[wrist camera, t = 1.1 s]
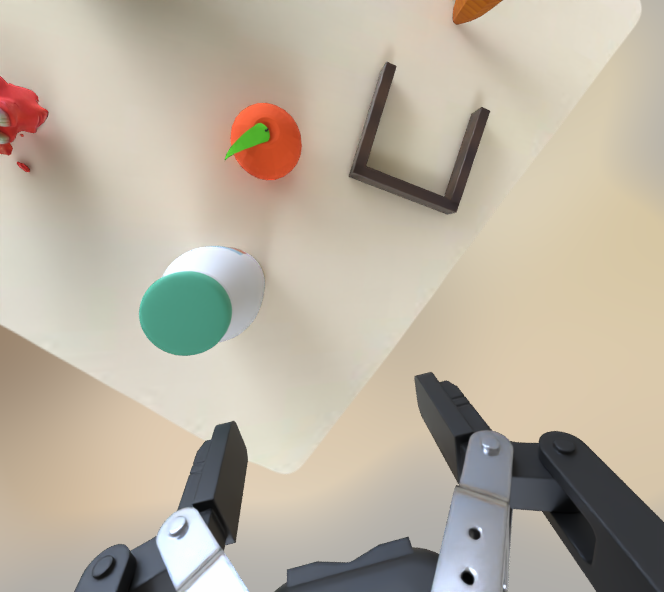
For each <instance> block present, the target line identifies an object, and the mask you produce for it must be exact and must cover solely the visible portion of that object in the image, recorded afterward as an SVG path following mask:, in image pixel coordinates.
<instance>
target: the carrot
mask: <svg viewBox="0 0 664 592" xmlns="http://www.w3.org/2000/svg"><path fill="white" fill-rule="evenodd" d="M501 1H502V0H456V1H455V5H454V9H453V22H454V23H455V24H456V25H458V24H462V23H466V22H469V21H472V20H474V19H476V18H478V17H481V16H482V15H484V14H485V13H486V12H488V11H489V10H491V9H492V8H493V7H495V6H496V5H497V4H498V3H500V2H501Z"/></svg>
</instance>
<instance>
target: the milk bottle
mask: <svg viewBox="0 0 664 592" xmlns="http://www.w3.org/2000/svg"><path fill="white" fill-rule="evenodd" d="M264 289H265V278H264V274H263V271H262V268H261V267H260V265H259V263H258V262H257V261H256V260H255V259H254V258H253V257H252V256H251V255H250V254H248V253H246V252H244V251H242V250H240V249H236V248H230V247H220V246H210V247H202V248H197V249H194V250H191V251H189V252H187V253H185V254H183V255H181V256H180V257H178V258H177V259H176V260H175V261H173V262H172V263H171V265H170V266H169V267H168V268H167V270H166V271H165V273H164V275H163V277H162V278H160V279H158V280H157V281H156V282H154V283H153V284H152V285H151V286H150V287H149V288H148V290H147V291H146V293H145V294H144V296H143V298H142V301H141V304H140V309H139V319H140V324H141V327H142V329H143V331H144V333H145V335H146V336H147V338H148V339H149V340H150V341H151V342H152V343H153V344H154V345H155V346H156V347H158V348H159V349H161V350H163V351H165V352H168V353H171V354H174V355H182V356H188V355H195V354H199V353H202V352H205V351H207V350H209V349H211V348H212V347H214V346H215V345H216V344H217V343H218V342H222V341H226V340H229V339H231V338H234V337H235V336H237V335H239V334H240V333H242V332H243V331H244V330H245V329H246V328H247V327H248V326H249V325H250V324H251V323H252V322H253V320H254V319H255V317H256V315H257V314H258V311H259V309H260V307H261V303H262V299H263V295H264Z"/></svg>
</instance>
